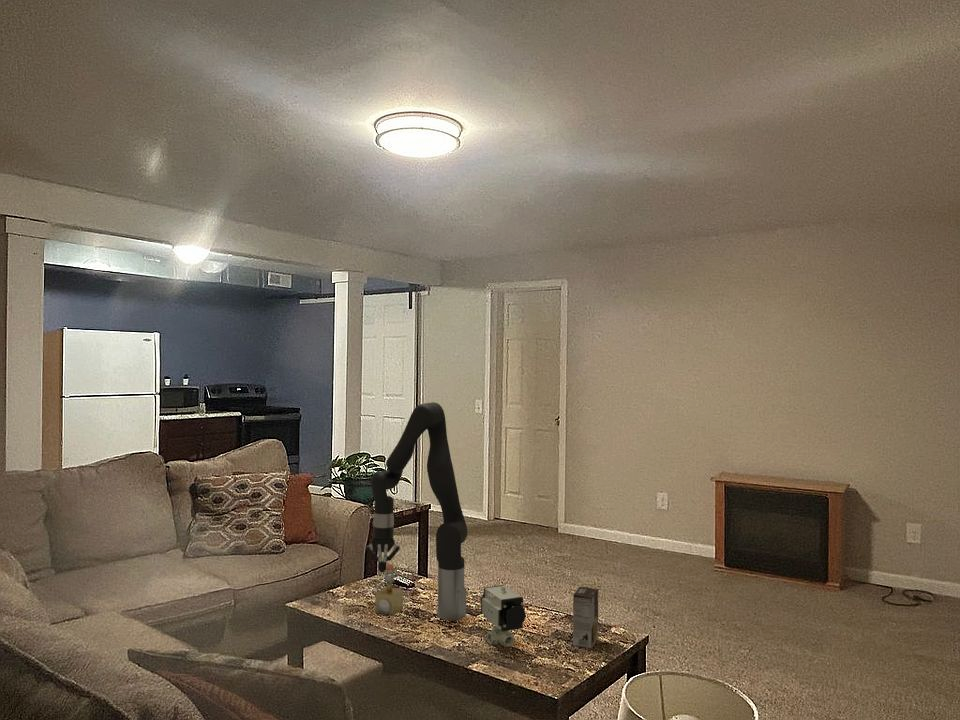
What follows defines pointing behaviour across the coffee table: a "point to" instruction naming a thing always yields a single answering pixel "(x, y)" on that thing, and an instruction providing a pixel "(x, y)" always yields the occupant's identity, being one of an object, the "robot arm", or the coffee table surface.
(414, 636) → the coffee table surface
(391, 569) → the valve lever
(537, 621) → the coffee table surface
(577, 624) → the coffee box
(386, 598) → the valve housing
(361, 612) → the coffee table surface
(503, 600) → the ball valve
